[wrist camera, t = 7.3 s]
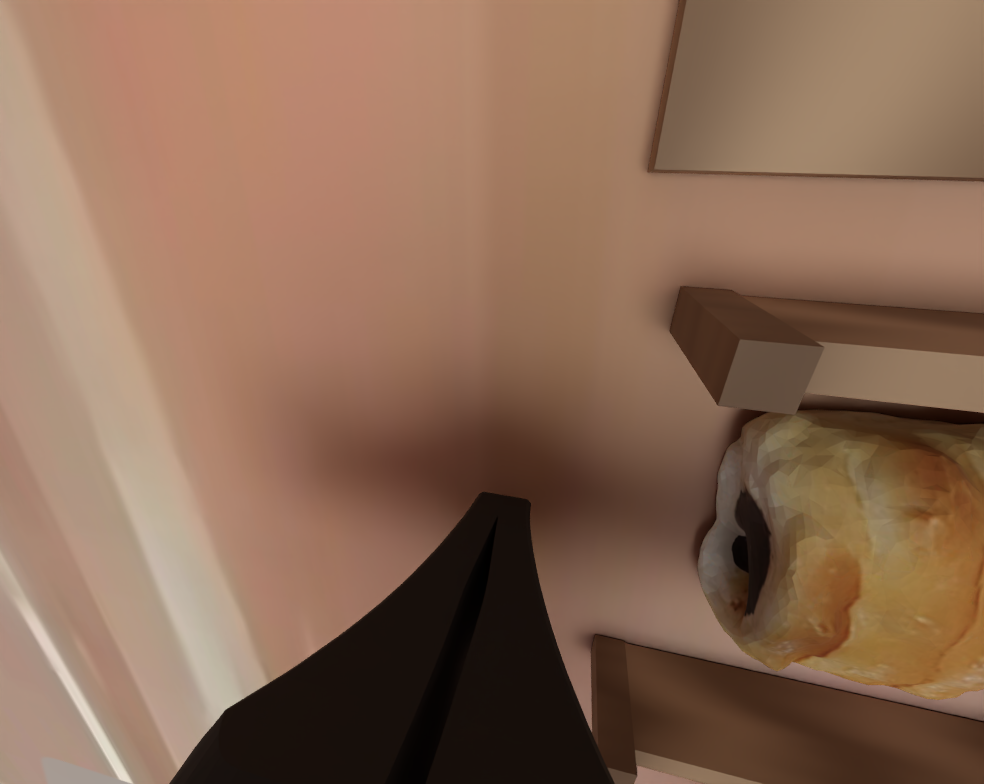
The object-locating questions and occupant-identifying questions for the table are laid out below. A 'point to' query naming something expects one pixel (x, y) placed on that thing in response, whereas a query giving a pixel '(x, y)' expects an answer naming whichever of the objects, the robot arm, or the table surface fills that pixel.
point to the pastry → (853, 548)
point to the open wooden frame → (760, 697)
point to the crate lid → (825, 89)
